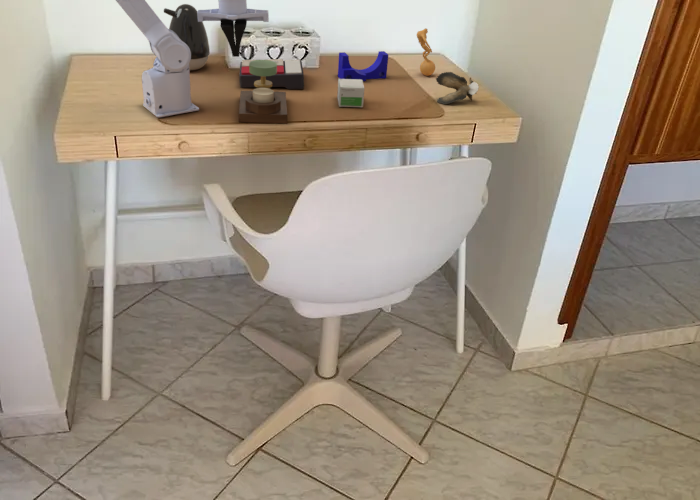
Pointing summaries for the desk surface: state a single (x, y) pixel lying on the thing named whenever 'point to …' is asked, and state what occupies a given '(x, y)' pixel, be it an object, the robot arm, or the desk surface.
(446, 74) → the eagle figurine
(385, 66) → the blue u-shaped cradle
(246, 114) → the lamp base
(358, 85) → the small box
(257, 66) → the lamp
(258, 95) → the lamp switch
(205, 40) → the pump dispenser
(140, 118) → the desk surface
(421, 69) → the figurine
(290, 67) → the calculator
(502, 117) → the desk surface
